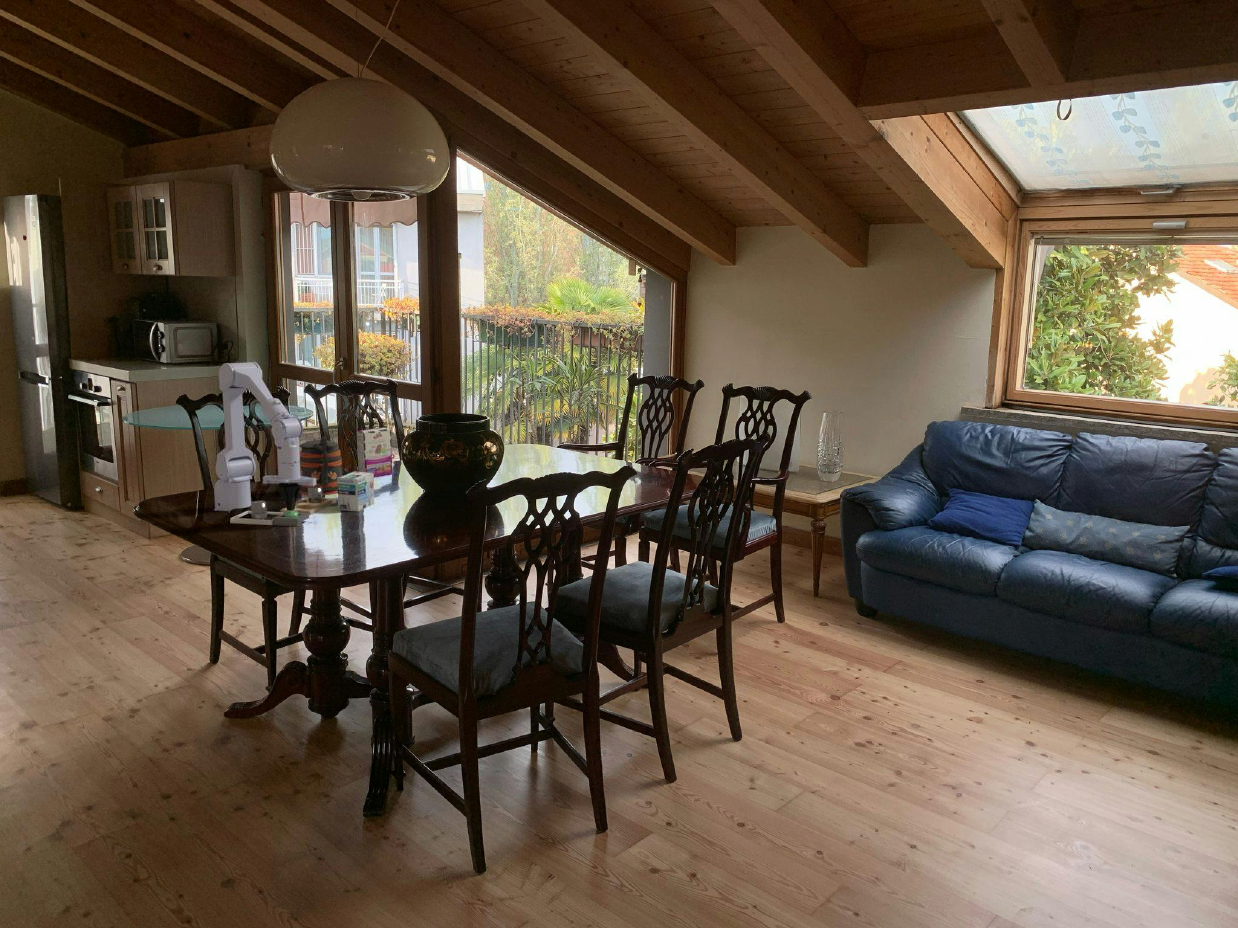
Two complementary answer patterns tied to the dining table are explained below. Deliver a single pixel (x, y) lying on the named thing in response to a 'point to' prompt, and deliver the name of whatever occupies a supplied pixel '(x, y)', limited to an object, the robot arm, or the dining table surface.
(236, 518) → the white rectangular frame
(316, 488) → the billet
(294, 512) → the button
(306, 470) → the grey orange striped backpack
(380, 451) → the candy bar box
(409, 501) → the dining table surface
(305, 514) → the console
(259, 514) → the billet
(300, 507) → the pallet board
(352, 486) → the light bulb box
